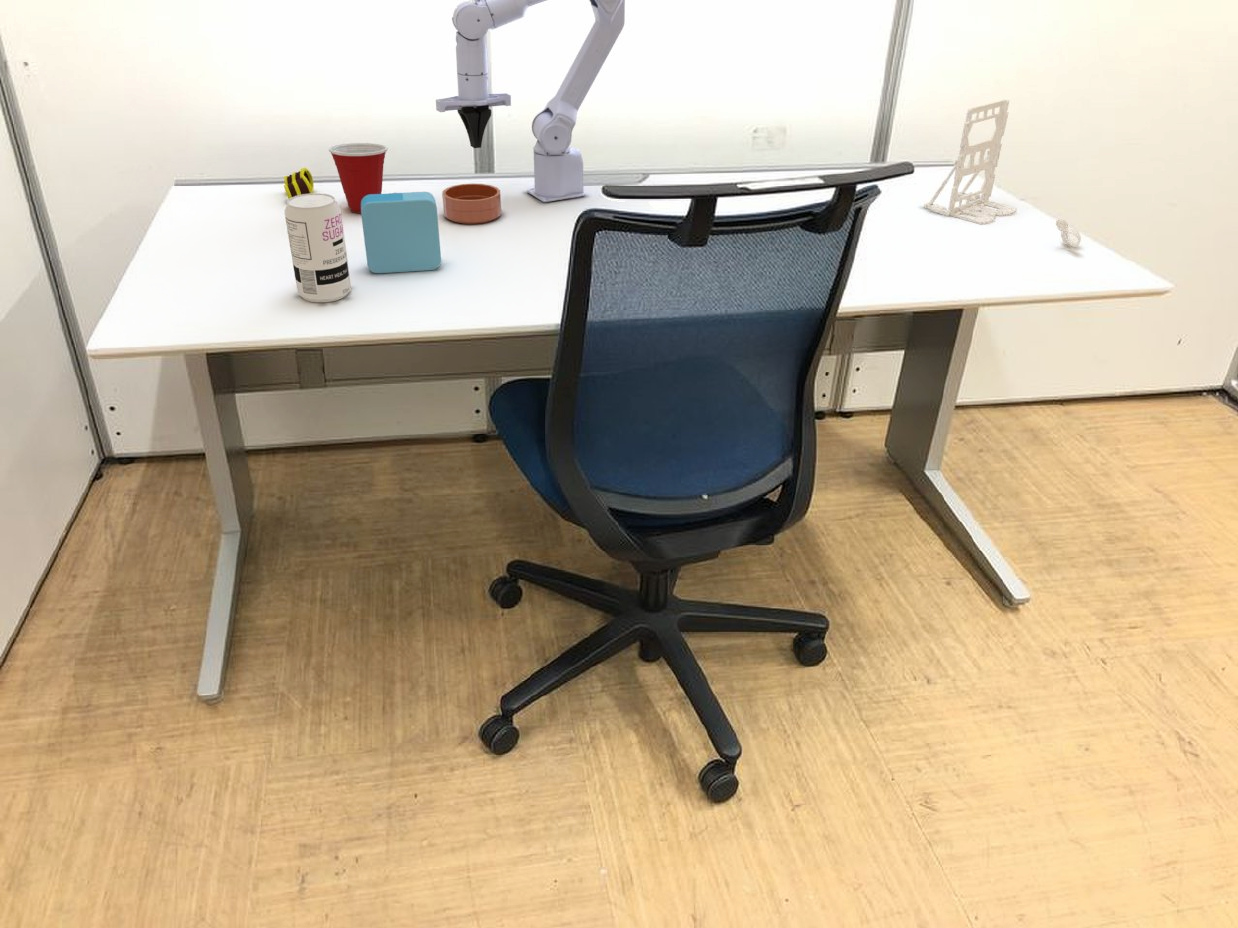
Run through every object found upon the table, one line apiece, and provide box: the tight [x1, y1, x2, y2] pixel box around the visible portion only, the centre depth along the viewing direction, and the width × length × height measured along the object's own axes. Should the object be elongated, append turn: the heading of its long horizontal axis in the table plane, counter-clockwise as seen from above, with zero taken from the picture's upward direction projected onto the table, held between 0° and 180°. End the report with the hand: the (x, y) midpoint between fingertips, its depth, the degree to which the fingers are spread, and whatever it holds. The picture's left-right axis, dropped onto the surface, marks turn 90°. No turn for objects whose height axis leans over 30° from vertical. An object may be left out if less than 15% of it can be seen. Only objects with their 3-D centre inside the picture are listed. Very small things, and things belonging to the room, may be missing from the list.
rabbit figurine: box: [1055, 218, 1082, 251], centre depth 181 cm, size 6×4×8 cm
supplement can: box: [284, 192, 352, 303], centre depth 155 cm, size 8×8×15 cm
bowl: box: [441, 183, 502, 225], centre depth 191 cm, size 11×11×5 cm
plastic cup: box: [328, 142, 389, 214], centre depth 192 cm, size 11×11×12 cm
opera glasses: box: [283, 167, 315, 200], centre depth 200 cm, size 10×5×5 cm, turn 15°
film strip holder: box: [923, 99, 1018, 225], centre depth 194 cm, size 14×14×20 cm
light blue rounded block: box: [360, 191, 442, 274], centre depth 166 cm, size 12×4×12 cm, turn 102°
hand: (475, 146), depth 195 cm, fingers closed
